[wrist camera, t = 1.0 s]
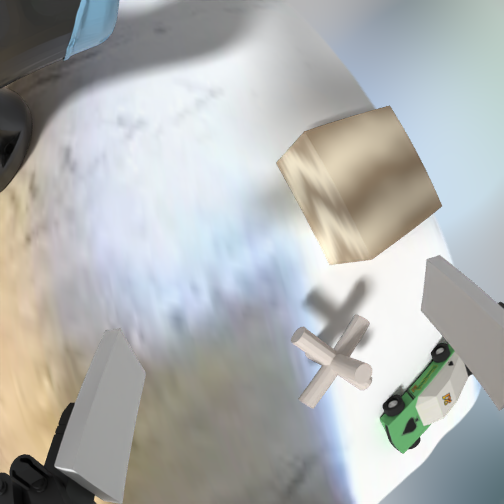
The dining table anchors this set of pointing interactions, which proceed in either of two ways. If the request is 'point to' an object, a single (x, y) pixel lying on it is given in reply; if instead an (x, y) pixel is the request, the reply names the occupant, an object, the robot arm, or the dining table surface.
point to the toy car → (425, 399)
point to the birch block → (359, 184)
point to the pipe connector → (333, 360)
